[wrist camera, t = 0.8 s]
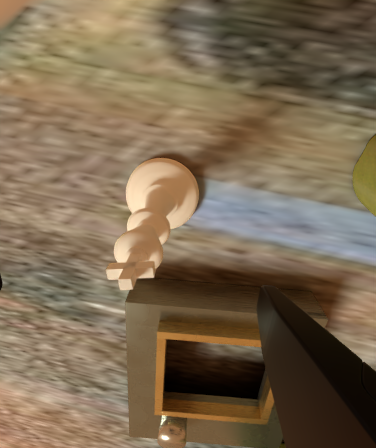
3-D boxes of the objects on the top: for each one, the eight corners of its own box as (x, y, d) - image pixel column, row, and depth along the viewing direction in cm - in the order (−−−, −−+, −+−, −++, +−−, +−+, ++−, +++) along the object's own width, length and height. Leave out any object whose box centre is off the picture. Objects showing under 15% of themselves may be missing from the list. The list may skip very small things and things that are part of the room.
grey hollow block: (311, 291, 21) (339, 338, 17) (270, 415, 27) (283, 471, 23) (134, 276, 21) (118, 319, 17) (136, 403, 27) (125, 457, 23)
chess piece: (121, 160, 17) (32, 222, 8) (196, 154, 17) (193, 212, 8) (133, 228, 19) (73, 340, 10) (201, 224, 19) (202, 336, 10)
